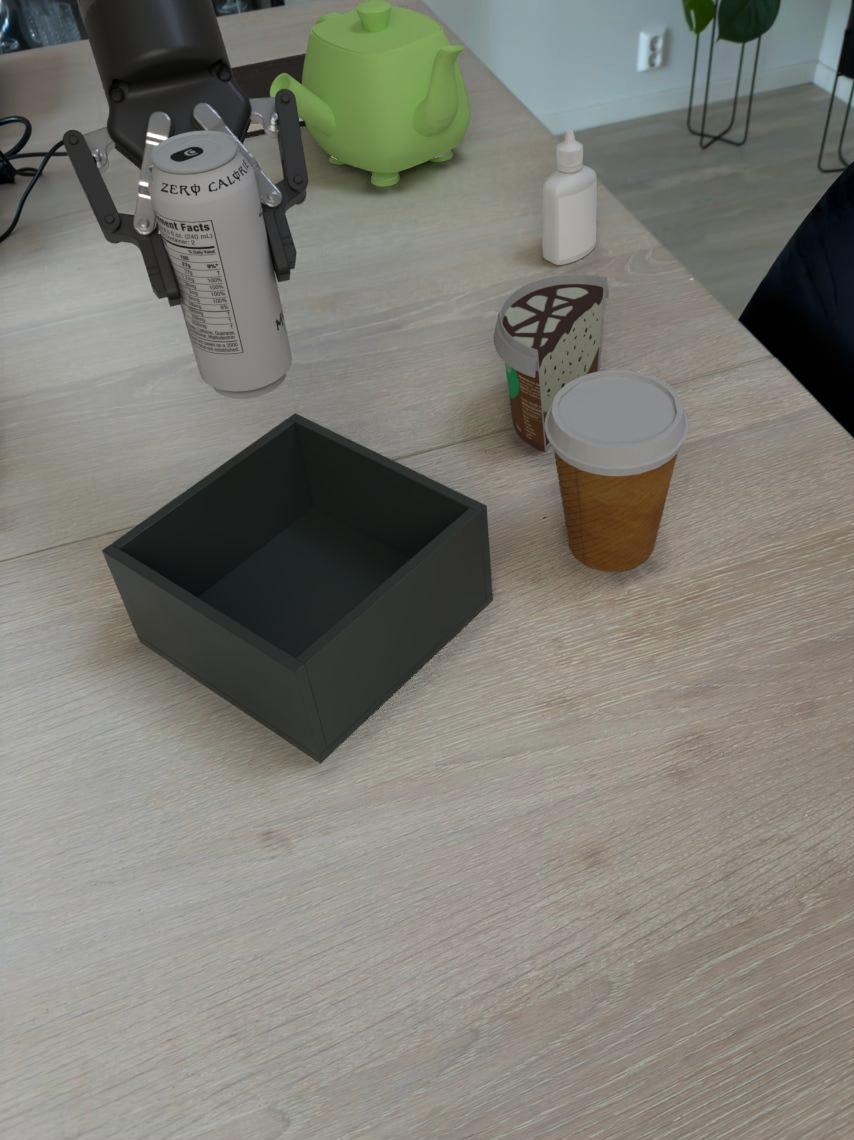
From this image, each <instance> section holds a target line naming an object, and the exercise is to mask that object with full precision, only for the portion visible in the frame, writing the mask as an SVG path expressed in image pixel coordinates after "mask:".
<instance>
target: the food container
mask: <svg viewBox="0 0 854 1140" xmlns="http://www.w3.org/2000/svg"><path fill="white" fill-rule="evenodd" d="M606 299H610V290H609V283H608V277H607V276H602V275H597V274H590V273H589V274H588V273H564V274H557V275H551V276H550V275H549V276H546V277H542V278H538V279H535V280H533V281H530V282H528V283H526V284H524V285H522V286H520V287H518V288H517V289H516V290H514V291H513V292H512V293H510V294H509V296H507V298H506V299H505V300H504V302H503V303H502V306H501V307H500V310H499V312H498V313H497V317H496V321H495V327H494V332H493V346H494V349H495V351H496V353H497V354H498V356H499V358H500V359H501V360H502V361H503V362H504V365H505V374H506V381H507V388H508V395H509V403H510V409H511V411H510V412H511V418H512V423H513V424H512V425H513V427H514V430H515V432H516V434H517V435H518V436H519V438H520V439H521V440H522V441H523V442H525V443H526V444H528V445H529V446H530V447H532V448H534V449H536V450H539V451H542V452H544V453H546V452H547V450H548V449H549V448H550V447H552V446H551V444H550V442H549V440H548V439H547V436H546V432H545V426H544V425H545V418H546V415H547V412H548V410H549V409H550V407H551V406H552V403H553V400H554V398H555V396H556V395H557V393H558V392H559V391H560V390H561V389H562V388H563V387H564V386H565V385H566V384H568V383H569V382H571V381H572V380H574V379H577V378H579V377H582V376H584V375H587V374H590V373H594V372H599V371H601V361H602V348H603V335H604V324H605V310H606Z"/></svg>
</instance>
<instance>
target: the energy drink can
mask: <svg viewBox="0 0 854 1140" xmlns="http://www.w3.org/2000/svg"><path fill="white" fill-rule="evenodd" d="M151 160H152V163H153V168H152V172H151V175H150V179H149V183H148V190H149V194H150V198H151V201H152V205H153V208H154V212H155V216H156V219H157V223H158V226H159V234H161V236H162V239H163V242H164V245H165V248H166V251H167V255H168V258H169V261H170V265H171V268H172V271H173V275H174V278H175V281H176V285H177V288H178V291H179V295H180V299H181V305H180V308H181V312H182V316H183V319H184V322H185V326H186V329H187V333H188V337H189V340H190V344H191V347H192V351H193V355H194V358H195V362H196V365H197V370H198V373H199V376H200V378H201V380H203V382H204V383H205V384H206V385H208V386H209V387H211V388H212V389H213V390H214V391H215V392H216V393H217V394H219V395H221V396H223V397H226V398H230V399H237V400H246V399H247V400H248V399H254V398H259V397H261V396H264V395H267V394H269V393H271V392H273V391H274V390H276V389H277V388H278V387H279V386H281V385H282V383H283V382H285V379H286V376H287V372H288V371H289V369H290V367H291V365H292V363H293V355H292V350H291V345H290V340H289V334H288V331H287V326H286V319H285V316H284V311H283V307H282V306H283V305H282V301H281V297H280V291H279V287H278V280H277V278H276V274H275V271H274V267H273V262H272V257H271V252H270V247H269V242H268V237H267V233H266V228H265V223H264V218H263V213H262V208H261V203H260V198H259V193H258V188H257V184H256V179H255V174H254V169H253V168H252V166H251V165H250V163H249V162H248V161H247V160H246V159H245V157H244V156H243V155H242V154H241V153H240V152H239V150H238V144H237V141H236V140H235V138H233V137H232V136H231V135H228V134H226V133H223V132H218V131H193V132H187V133H183V134H179V135H176V136H173V137H170V138H168V139H166V140H164V141H162V142H161V143H159V144H158V145H157V146H156V147H155V148H154V149H153V150H152V153H151Z"/></svg>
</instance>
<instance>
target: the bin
mask: <svg viewBox="0 0 854 1140" xmlns="http://www.w3.org/2000/svg"><path fill="white" fill-rule="evenodd" d="M490 547H491V546H490V535H489V519H488V506H487V505H486V504H484V503H482V502H480V501H478V500H475V499H473V498H471V497H470V496H468V495H465V494H463V493H462V492H460V491H457V490H456V489H453V488H451V487H449V486H447V485H444V484H443V483H441V482H439V481H437V480H434V479H433V478H430V477H428V476H426V475H424V474H422V473H420V472H418V471H416V470H414V469H412V468H411V467H410V468H409V467H407V466H405V465H403V464H402V463H400V462H397V461H395V460H393V459H391V458H389V457H387V456H385V455H383V454H381V453H379V452H376V451H375V450H372V449H371V448H369V447H366V446H364V445H363V444H360V443H359V442H356V441H353V440H352V439H349V438H348V437H346V436H344V435H342V434H340V433H337V432H335V431H333V430H331V429H329V428H327V427H325V426H323V425H321V424H319V423H317V422H315V421H312V420H310V419H309V418H306V417H304V416H302V415H300V414H298V413H293V414H292V415H290V416H289V417H288V418H286V419H284V420H283V421H281V423H278V425H276V426H275V427H273V428H272V429H269V431H268V432H266V433H265V434H263V435H262V436H260V437H259V438H258V439H256V440H255V441H254V442H252V443H251V444H249V445H247V447H245V448H244V449H242V450H241V451H239V452H238V453H237V454H235V455H234V456H232V457H231V458H230V459H228V460H227V461H225V462H224V463H223V464H221V465H220V466H219V467H217V468H216V469H214V470H213V471H211V472H209V474H207V475H206V476H204V477H203V478H201V479H200V480H198V481H197V482H196V483H194V484H193V485H192V486H191V487H189V488H187V489H186V490H185V491H183V492H182V493H180V494H178V495H177V496H176V497H174V499H172V500H171V501H169V502H168V503H166V504H165V505H163V506H162V507H160V509H158V510H156V511H155V512H154V513H152V514H150V516H148V517H147V518H144V520H142V521H141V522H140V523H138V524H137V525H135V526H134V527H132V528H131V529H130V530H128V531H127V532H125V533H124V534H123V535H122V536H120V537H119V538H117V539H116V540H114V541H113V542H111V544H109V545H107V546H106V547H105V548H103V549H102V550H101V552H102V554H103V557H104V560H105V562H106V564H107V566H108V569H109V571H110V574H111V577H112V579H113V581H114V583H115V584H114V585H115V586H116V588H117V591H118V593H119V595H120V598H121V600H122V603H123V605H124V608H125V610H126V612H127V615H128V617H129V620H130V623H131V625H132V627H133V629H134V631H135V634H136V636H137V639H138V641H139V643H140V644H142V645H144V647H146V648H148V649H149V650H151V651H152V652H154V653H155V654H156V655H158V656H159V657H161V658H163V659H164V660H166V661H167V662H169V663H170V664H172V665H173V666H174V667H176V668H177V669H179V670H180V671H182V672H184V673H185V674H187V675H188V676H189V677H190V678H193V679H194V680H196V681H197V682H198V683H200V684H201V685H203V686H204V687H206V688H207V689H209V690H210V691H211V692H213V693H215V694H216V695H218V696H219V697H221V698H222V699H224V700H225V701H227V702H228V703H230V704H231V705H233V706H234V707H236V708H237V709H238V710H240V711H241V712H243V713H244V714H246V715H247V716H248V717H251V718H252V719H253V720H255V721H257V723H259V724H261V725H262V726H264V727H265V728H267V729H268V730H270V731H272V732H273V733H274V734H276V735H277V736H279V737H280V738H282V739H283V740H285V741H286V742H288V743H289V744H291V745H292V746H294V747H295V748H296V749H298V750H300V751H301V752H302V753H304V754H305V755H307V756H308V757H310V758H312V759H313V760H314V761H316V762H317V763H319V764H322V763H323V761H325V760H326V759H327V758H328V757H329V756H330V755H331V754H332V753H333V752H335V750H337V748H338V747H340V746H341V744H343V743H344V742H345V741H346V740H347V739H348V738H349V737H350V736H352V734H353V733H354V732H356V730H357V729H359V728H360V727H361V726H362V725H363V724H364V723H365V722H366V721H367V720H368V719H369V718H370V717H371V716H372V715H373V714H374V713H375V712H377V711H378V710H379V709H380V707H382V706H383V705H384V704H385V703H386V702H387V701H388V700H389V699H391V698H392V696H394V694H395V693H397V692H398V691H399V690H400V689H401V688H402V687H403V686H404V685H405V684H406V683H407V682H408V681H409V680H411V678H413V676H415V675H416V674H417V673H418V672H419V671H420V670H421V669H423V667H424V666H425V665H426V664H427V663H428V662H429V661H430V660H431V659H433V657H435V656H436V655H437V654H438V653H439V652H440V651H441V650H442V649H443V648H444V647H445V646H446V645H447V644H448V643H450V641H452V639H454V638H455V637H456V636H457V635H458V634H459V633H460V632H461V631H462V630H463V629H464V628H465V627H466V626H467V625H468V624H469V623H470V622H471V621H473V620H474V619H475V618H476V617H477V616H478V615H479V614H480V613H481V612H482V611H484V609H485V608H486V607H487V606H489V605H490V603H492V602H493V600H494V593H493V577H492V564H491V549H490Z"/></svg>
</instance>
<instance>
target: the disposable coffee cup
mask: <svg viewBox="0 0 854 1140" xmlns="http://www.w3.org/2000/svg"><path fill="white" fill-rule="evenodd" d="M544 426H545V432H546V436H547V439H548V440H549V442H550V444H551V446H550V447H551V448H552V450H553V453H554V454H553V455H554V460H555V466H556V473H557V480H558V485H559V490H560V498H561V504H562V510H563V517H564V522H565V527H566V535H567V540H568V549H569V550H570V552H571V555H572V556H573V557H574V558H575V559H576V560H577V561H578V562H580V563H581V564H583V565H585V566H587V567H588V568H591V569H594V570H598V571H602V572H622V571H626V570H630V569H633V568H637V567H638V566H640V565H641V564H643V563H644V562H646V561H647V560H648V559H649V558H650V557H651V555H652V554H653V553H654V549H655V546H656V542H657V537H658V534H659V529H660V525H661V521H662V517H663V513H664V509H665V505H666V501H667V497H668V494H669V489H670V484H671V481H672V477H673V474H674V469H675V465H676V461H677V458H678V453H679V451H680V450H681V448H682V447H683V445H684V444H685V442H686V439H687V437H688V435H689V431H690V421H689V417H688V414H687V412H686V410H685V408H684V405H683V402H682V399H681V397H680V396H679V394H678V392H677V391H676V390H675V389H674V388H673V387H672V386H670V385H669V384H668V383H667V382H666V381H664V380H661V379H659V378H658V377H656V376H653V375H650V374H647V373H644V372H639V371H635V370H625V369H608V370H600V371H599V372H594V373H590V374H587V375H584V376H582V377H579V378H577V379H574V380H572V381H571V382H569V383H568V384H566V385H565V386H564V387H563V388H562V389H561V390H560V391H559V392H558V393H557V395H556V396H555V398H554V400H553V403H552V406H551V407H550V409H549V410H548V412H547V415H546V418H545V425H544Z"/></svg>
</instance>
